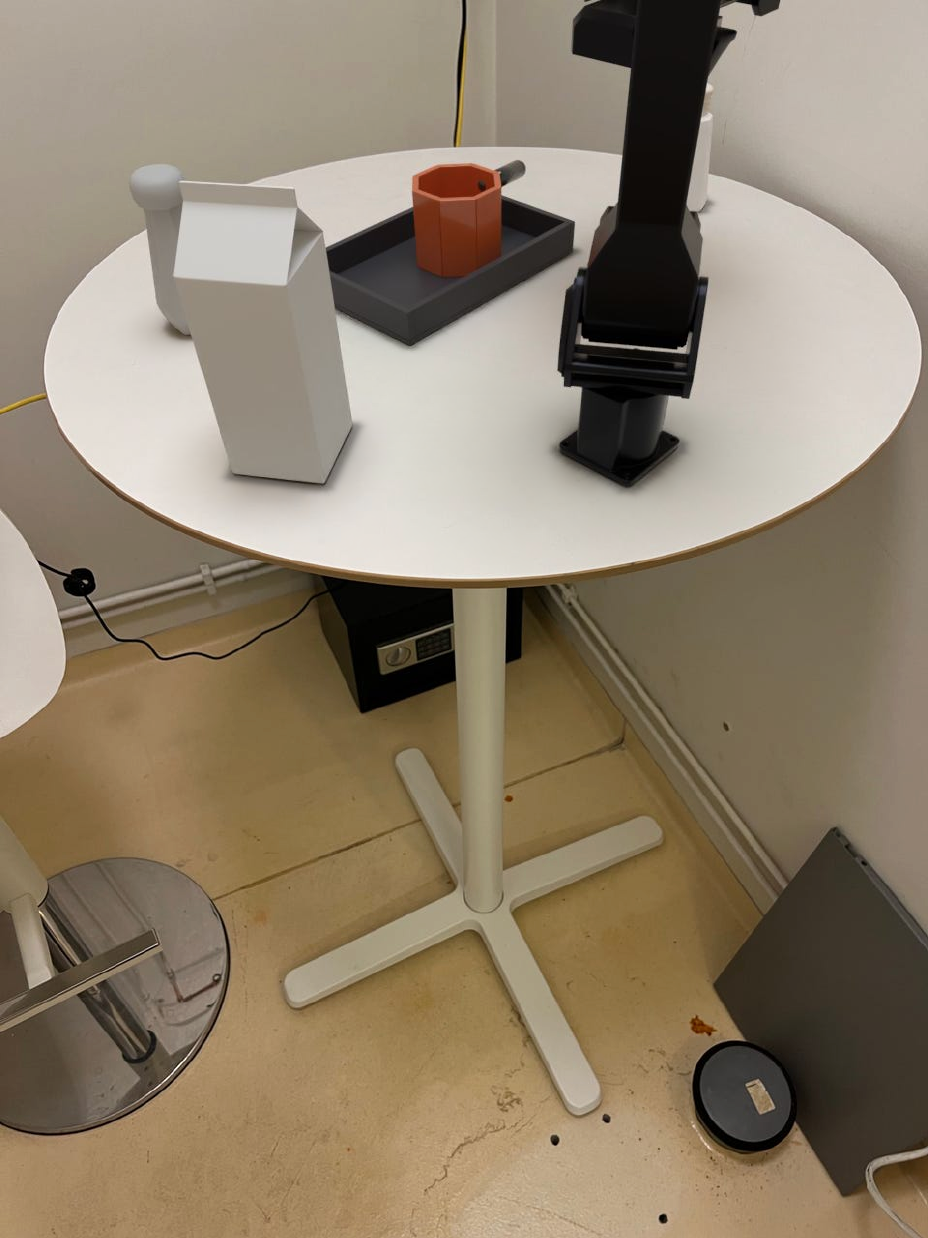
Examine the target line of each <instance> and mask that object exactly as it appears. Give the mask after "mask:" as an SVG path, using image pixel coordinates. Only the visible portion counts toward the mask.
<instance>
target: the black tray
mask: <svg viewBox="0 0 928 1238" xmlns="http://www.w3.org/2000/svg"><path fill="white" fill-rule="evenodd" d="M575 228H576V221H575V220H572V219H569V218H567V217H564V216H561V215H558V214H555V213H553V212H550V211H547V210H545V209H542V208H539V207H536V206H533V205H530V204H528V203H525V202H522V201H519V200H516V199H514V198H511V197H508V196H506V195H502V194H501V257H500V258H498V259H496V260H494V261H492V262H490V263H489V264H487V265H485V266H483V267H481V268H479V269H478V270H476V271H474V272H472V273H470V274H468V275H467V276H465V277H440V276H438V275H435V274H433V273H431V272H428V271H426V270H424V269H422V268H419V267H418V266H417V255H416V241H415V227H414V213H413V206H411V207H409V208H407V209H405V210H403V211H400V212H398V213H396V214H394V215H392V216H390V217H387V218H386V219H384V220H382V221H378V222H377V223H375V224H373V225H371V226H368V227H366V228H364V229H362V230H360V231H358V232H355V233H354V234H351V235H349V236H347V237H345V238H343V239H340V240H339V241H336V242H335V243H332V244H330V245H327V246H325V248H326V254H327V261H328V267H329V274H330V280H331V287H332V293H333V300H334V306H335V310H338V311H340V312H342V313H344V314H346V315H348V316H350V317H352V318H354V319H356V320H358V321H360V322H362V323H364V324H366V325H368V326H370V327H372V328H374V329H376V330H378V331H380V332H382V333H384V334H386V335H387V336H390V337H392V338H394V339H396V340H398V341H400V342H402V343H403V344H405V345H407V346H412V345H414V344H415V343H417V342H419V341H420V340H423V339H424V338H426V337H428V336H429V335H431V334H433V333H434V332H437V331H438V330H440V329H442V328H443V327H445V326H447V325H449V324H450V323H452V322H454V321H455V320H457V319H459V318H461V317H462V316H465V315H466V314H468V313H470V312H471V311H473V310H475V309H477V308H478V307H480V306H482V305H483V304H486V303H487V302H489V301H490V300H492V299H494V298H495V297H497V296H499V295H501V294H502V293H504V292H506V291H508V290H509V289H511V288H513V287H514V286H517V285H518V284H520V283H522V282H523V281H526V280H527V279H529V278H530V277H532V276H534V275H536V274H537V273H539V272H541V271H543V270H544V269H546V268H548V267H549V266H552V265H553V264H555V263H557V262H558V261H561V260H562V259H563V258H566V257H567V256H568V255H570V254H572V253H573V252H574V242H575Z"/></svg>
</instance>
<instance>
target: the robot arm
mask: <svg viewBox="0 0 928 1238" xmlns="http://www.w3.org/2000/svg"><path fill="white" fill-rule="evenodd" d="M590 1H591V0H583V2H584V3H587V2H590ZM734 3H738V4H743V5H749V6H751V9H752V12H753V15H754V16H756V17H763V16H765V15H766V16H767V15H768V14H770V13H773V12H775V11H777V10H779V8H780V4H781V0H597V1H594V2H590V3H589V4H585V5H583V6H582V8H581V9H580V10H579V12H578V13H577V14H576V15H575V16H574V17H573V19H572V28H571V29H572V30H571V46H570V52H571V54H572V55H575V56H578V57H583V58H587V59H591V60H596V61H599V62H603V63H607V64H612V65H616V66H620V67H624V68H628V69H630V74H629V82H628V83H629V84H628V94H627V103H626V115H625V122H624V123H625V125H624V133H623V134H624V135H623V144H622V155H621V165H620V166H621V167H620V175H619V185H618V195H617V202H616V203H615V205H608V206H606V209H605V210H604V212H603V214H602V215H601V217H600V218H599V219H600V220H599V224H598V226H597V227H596V228H595V230H594V233H593V238H592V242H591V247H590V252H589V256H588V260H587V261H588V262H587V265H586V267H584V266H579V267H578V269H577V273H576V277H574V280H573V283H571V285H569V286H568V287H567V288H566V289H565V295H564V302H563V311H562V318H561V327H560V333H559V342H558V343H559V344H558V352H557V353H558V354H557V369H556V370H557V372H558V373H560V374H561V377H562V378H563V388H572V387H573V388H581V393H580V402H579V414H578V426H577V429H576V430H575V431H573V432H572V433H571V434H569V435H568V436H567V437H565V438H564V439H562V440H561V441H560V442H559V445H558V450H559V451H560V452H561V453H562V454H564V455H566V456H568V457H569V458H572V459H574V460H576V461H577V462H579V463H582V464H583V465H585V466H587V467H589V468H590V469H593V470H594V471H597V472H599V473H601V474H603V475H604V476H607V477H608V478H610V479H612V480H614V481H616V482H618V483H620V484H621V485H624V486H631V485H633V484H634V483H636V482H637V481H638V480H639V479H641V478H642V477H643V476H645V475H646V473H648V472H649V471H651V470H652V469H653V468H654V467H655V466H657V465H658V464H659V463H660V462H662V461H663V460H664V459H665V458H666V457H668V456H669V455H670V454H672V452H674V451H675V450H676V449H677V448H678V447H679V444H680V439H679V437H677V436H675V435H673V434H671V433H669V432H667V431H666V430H663V427H664V425H665V420H666V419H665V418H666V413H667V408H668V403H669V397H677V398H680V399H684V400H690V398H691V393H692V389H693V385H694V380H695V376H696V375H695V374H696V368H697V362H698V355H699V347H700V343H701V336H702V335H701V334H702V329H703V328H702V327H703V321H704V315H705V307H706V302H707V295H708V288H709V276H707V275H706V276H703V275H700V273H701V263H702V254H703V253H702V252H703V243H704V242H703V241H704V237H703V235H702V233H701V228H702V223H701V221H700V217H699V214H698V212H696V211H689V209H688V207H687V198H688V192H689V186H690V180H691V174H692V168H693V163H694V157H695V151H696V145H697V139H698V133H699V127H700V122H701V116H702V110H703V104H704V98H705V92H706V86H707V83H708V80H709V76H710V75H711V73H712V72H713V70H714V68H715V67H716V65H717V64H718V63H719V60H721V57H722V55H723V54H724V53H725V51H726V49H727V48H728V46H729V44H731V42H732V41H734V40H736V37H737V35H738V31H737V30H736V29H733V28H729V27H723V26H722V25H723V17H724V16H723V15H720V12H721V9H722V8H724V7H728V6H729V5H731V4H734ZM582 338H583V340H587V341H588V343H597V344H606V345H607V344H608V345H618V346H619V345H621V346H631V347H636V348H629V347H617V346H605V345H595V344H594V345H593V344H582V343H581V342H582V341H581V340H582ZM638 347H641V348H642V347H643V348H653V349H662V350H663V349H664V350H675V351H677V350H678V349H679V348H684V347H686V349H685V353H682V352H673V351H662V350H650V349H640V348H638Z"/></svg>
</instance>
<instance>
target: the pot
mask: <svg viewBox="0 0 928 1238" xmlns="http://www.w3.org/2000/svg"><path fill="white" fill-rule="evenodd" d="M526 171H527V169H526V165H525V163H524V161H522V160H521V159H515V160H512V161H510V162H509V163H507V164H504V165H502V166H500V167H498V168H495V169H492V168H488V167H485V166H483V165H480V164H476V163H472V162H469V163H468V162H467V163H466V162H465V163H445V164H436V165H433V166H431V167H429V168H427V169H425V170H423V171H420V172H418V173H416V174H414V175H412V177H411V197H412V207H413V213H414V227H415V241H416V255H417V266H418V267H419V268H422V269H424V270H426V271H428V272H431V273H433V274H435V275H438V276H440V277H465V276H467V275H468V274H470V273H472V272H474V271H476V270H478V269H479V268H481V267H483V266H485V265H487V264H489V263H490V262H492V261H494V260H496V259H498V258H500V257H501V195H502V188H503V187H504V186H507V185H509V184H511V183H513V182H515V181H517V180H519V179H521V178H523V177H524V175H525V174H526Z"/></svg>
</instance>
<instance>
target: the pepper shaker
mask: <svg viewBox="0 0 928 1238" xmlns="http://www.w3.org/2000/svg"><path fill="white" fill-rule="evenodd" d="M713 93H714V87H713V85H711V84H710V83H708V82H707V86H706V92H705V98H704V104H703V110H702V116H701V122H700V127H699V133H698V139H697V145H696V151H695V157H694V163H693V168H692V174H691V180H690V186H689V192H688V198H687V207H688V209H689V211H696V212H697V213H698V212H700V211H702V209H703V207H704V206H705V204H706V203H707V197H708V184H709V172H710V162H711V160H710V159H711V148H712V137H713V127H714V124H713V123H714V115H713V114H712V113H711V112H709V111H710V105H711V100H712V95H713Z"/></svg>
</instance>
